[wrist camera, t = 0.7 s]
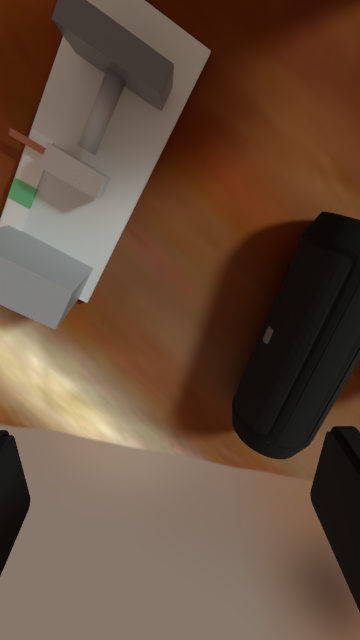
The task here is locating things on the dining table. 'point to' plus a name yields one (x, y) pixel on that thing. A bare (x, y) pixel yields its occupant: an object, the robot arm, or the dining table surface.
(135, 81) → the grey t-shaped bar
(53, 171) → the peak pointer
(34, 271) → the press frame
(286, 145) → the dining table surface
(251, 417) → the portable speaker
